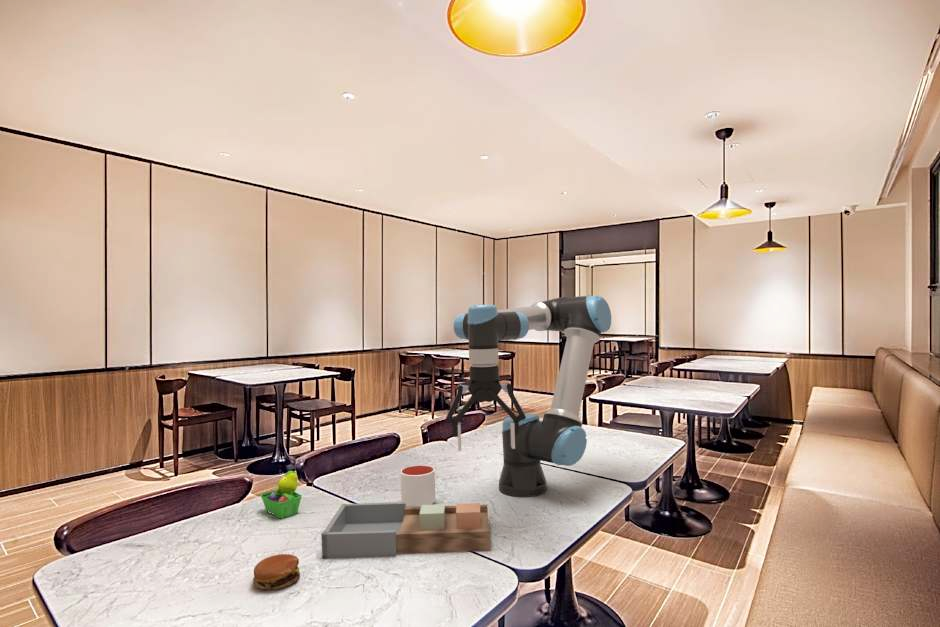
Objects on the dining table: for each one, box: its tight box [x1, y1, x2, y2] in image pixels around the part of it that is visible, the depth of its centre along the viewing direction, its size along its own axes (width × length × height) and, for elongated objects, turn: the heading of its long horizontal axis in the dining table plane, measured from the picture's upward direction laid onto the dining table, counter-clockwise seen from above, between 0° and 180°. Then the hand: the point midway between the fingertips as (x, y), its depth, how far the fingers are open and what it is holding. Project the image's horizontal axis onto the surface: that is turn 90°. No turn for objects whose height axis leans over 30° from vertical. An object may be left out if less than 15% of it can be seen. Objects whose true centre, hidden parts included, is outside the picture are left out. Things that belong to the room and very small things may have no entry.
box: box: [321, 501, 406, 559], centre depth 128 cm, size 17×19×6 cm
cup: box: [400, 464, 436, 507], centre depth 151 cm, size 10×10×10 cm
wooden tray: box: [396, 504, 491, 555], centre depth 128 cm, size 22×17×4 cm
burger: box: [252, 553, 301, 590], centre depth 109 cm, size 10×9×5 cm
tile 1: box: [419, 503, 446, 530], centre depth 128 cm, size 6×6×4 cm
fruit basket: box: [260, 470, 303, 519], centre depth 148 cm, size 11×9×11 cm
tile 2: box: [455, 502, 481, 529], centre depth 128 cm, size 6×6×4 cm
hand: (486, 448), depth 130 cm, fingers open, 13 cm apart
